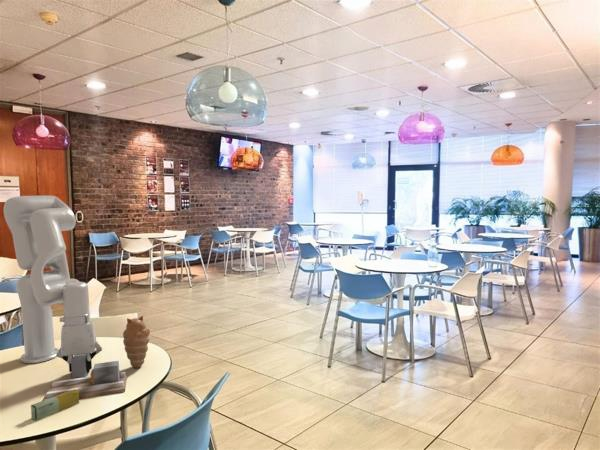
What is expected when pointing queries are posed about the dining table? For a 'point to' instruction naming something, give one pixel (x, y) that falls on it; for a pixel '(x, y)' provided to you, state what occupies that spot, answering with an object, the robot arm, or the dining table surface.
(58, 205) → the robot arm
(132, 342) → the cat ice cream
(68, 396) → the medication box
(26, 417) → the dining table surface
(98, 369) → the rail mount
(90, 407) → the dining table surface
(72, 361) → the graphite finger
